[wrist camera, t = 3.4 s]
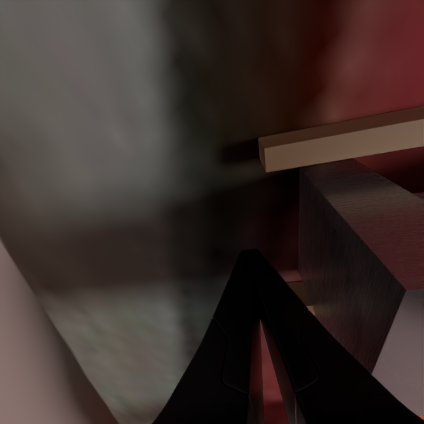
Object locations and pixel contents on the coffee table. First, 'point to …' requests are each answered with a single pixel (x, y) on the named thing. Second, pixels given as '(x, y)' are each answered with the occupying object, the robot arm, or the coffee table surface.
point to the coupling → (366, 270)
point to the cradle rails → (341, 147)
